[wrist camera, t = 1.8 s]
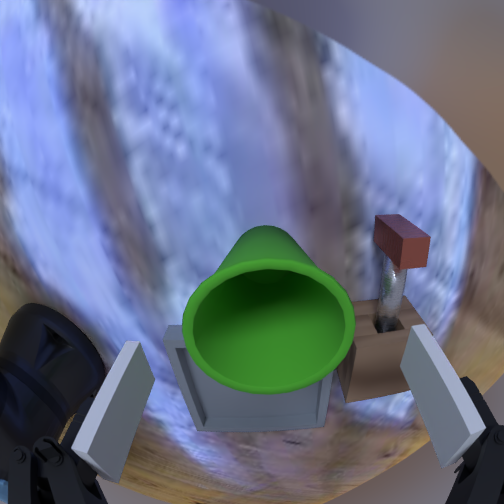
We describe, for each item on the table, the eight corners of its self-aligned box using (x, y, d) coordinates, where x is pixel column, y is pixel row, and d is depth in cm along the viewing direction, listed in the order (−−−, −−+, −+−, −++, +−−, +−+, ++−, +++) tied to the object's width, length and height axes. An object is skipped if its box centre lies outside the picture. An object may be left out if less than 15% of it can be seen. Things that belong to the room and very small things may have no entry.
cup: (323, 291, 26) (354, 382, 16) (224, 305, 27) (207, 400, 17) (313, 192, 22) (356, 245, 12) (200, 211, 23) (156, 276, 13)
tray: (199, 417, 34) (197, 430, 32) (168, 325, 28) (162, 339, 26) (321, 412, 33) (324, 426, 31) (332, 316, 27) (338, 331, 25)
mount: (339, 303, 26) (356, 348, 20) (405, 295, 26) (433, 335, 20) (333, 357, 29) (345, 403, 23) (392, 348, 29) (412, 389, 23)
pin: (375, 215, 22) (403, 238, 17) (399, 214, 22) (430, 236, 17) (364, 321, 26) (381, 357, 21) (385, 318, 26) (405, 353, 21)
